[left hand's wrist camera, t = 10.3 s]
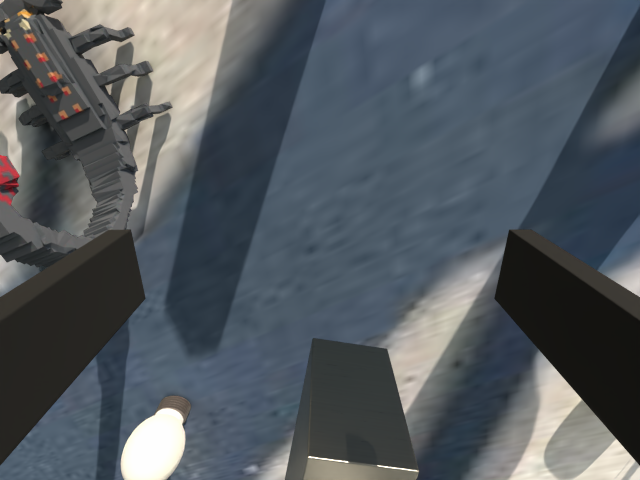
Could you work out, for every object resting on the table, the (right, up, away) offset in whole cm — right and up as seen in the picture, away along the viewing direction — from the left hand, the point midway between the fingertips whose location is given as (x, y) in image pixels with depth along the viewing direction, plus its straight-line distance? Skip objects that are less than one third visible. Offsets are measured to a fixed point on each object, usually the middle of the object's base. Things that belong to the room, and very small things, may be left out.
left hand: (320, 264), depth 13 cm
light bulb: (-20, -22, +37) cm, 47 cm away
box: (+1, -18, +20) cm, 26 cm away
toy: (-22, +16, +21) cm, 35 cm away
